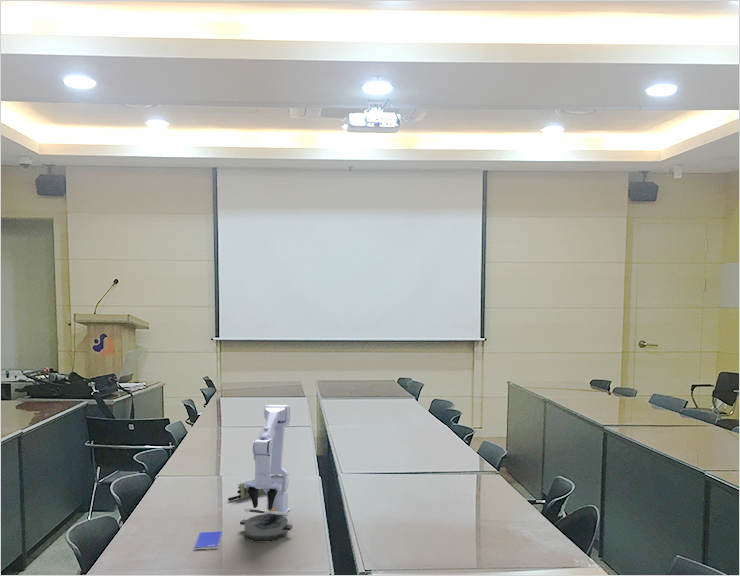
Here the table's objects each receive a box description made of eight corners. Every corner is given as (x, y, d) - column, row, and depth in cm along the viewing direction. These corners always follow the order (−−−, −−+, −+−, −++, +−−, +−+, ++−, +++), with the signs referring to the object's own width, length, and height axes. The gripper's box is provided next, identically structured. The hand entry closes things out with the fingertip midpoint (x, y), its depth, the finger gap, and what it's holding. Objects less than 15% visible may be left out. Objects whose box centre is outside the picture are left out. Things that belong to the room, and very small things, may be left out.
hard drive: (217, 545, 216) (222, 531, 228) (194, 547, 215) (199, 532, 227) (217, 550, 216) (222, 535, 228) (194, 551, 215) (199, 536, 227)
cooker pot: (253, 519, 241) (252, 509, 241) (300, 525, 235) (300, 515, 235) (231, 538, 224) (231, 527, 224) (282, 545, 218) (282, 534, 218)
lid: (255, 511, 239) (256, 505, 240) (295, 515, 235) (296, 510, 235) (234, 510, 223) (235, 504, 224) (277, 515, 218) (278, 509, 219)
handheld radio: (280, 489, 275) (230, 503, 258) (275, 488, 278) (226, 501, 261) (279, 474, 275) (230, 488, 258) (275, 473, 278) (226, 486, 261)
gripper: (240, 473, 224) (240, 509, 224) (276, 477, 220) (276, 514, 220) (248, 467, 231) (249, 502, 231) (284, 470, 227) (284, 506, 227)
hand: (263, 507), depth 226 cm, fingers open, 5 cm apart
